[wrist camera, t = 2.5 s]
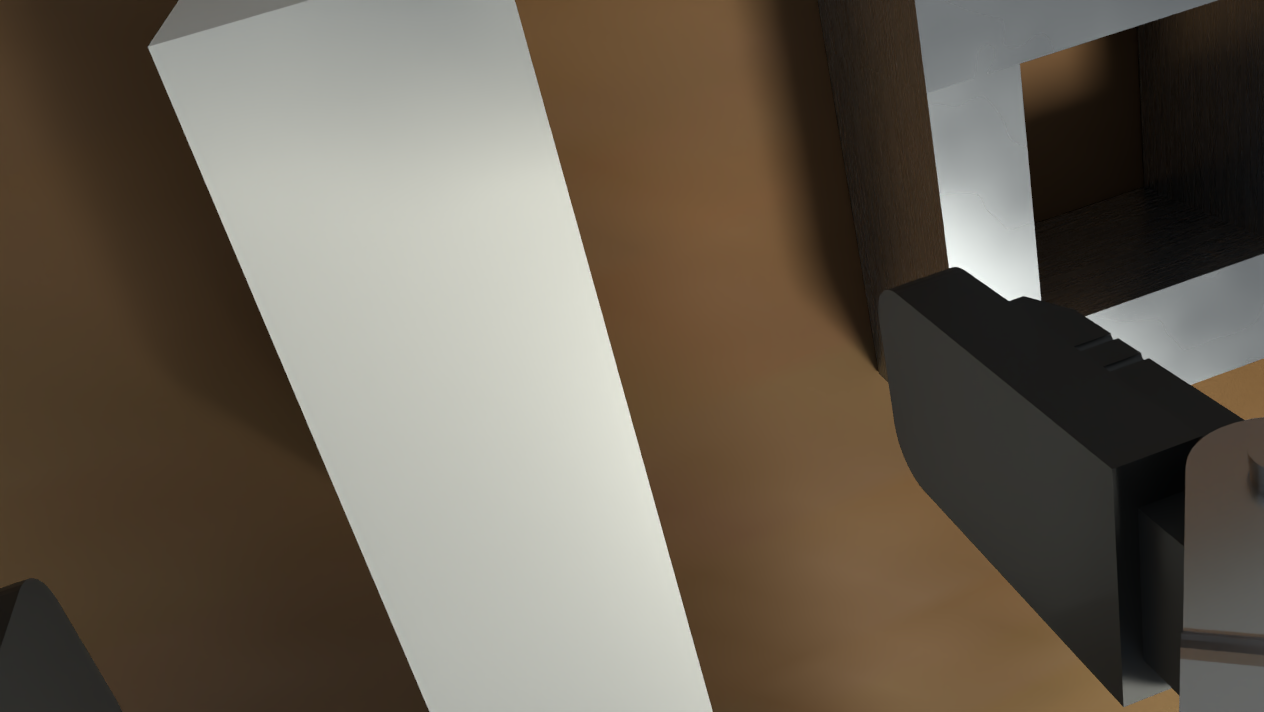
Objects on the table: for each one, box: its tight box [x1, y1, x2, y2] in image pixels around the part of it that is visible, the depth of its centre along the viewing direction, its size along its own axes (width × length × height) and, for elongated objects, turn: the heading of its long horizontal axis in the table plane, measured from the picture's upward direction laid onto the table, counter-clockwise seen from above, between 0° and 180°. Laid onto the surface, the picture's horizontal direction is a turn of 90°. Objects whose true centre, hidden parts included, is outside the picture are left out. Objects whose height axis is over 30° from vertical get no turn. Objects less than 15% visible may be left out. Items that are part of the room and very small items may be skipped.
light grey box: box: [148, 0, 713, 712], centre depth 16 cm, size 10×3×7 cm, turn 14°
